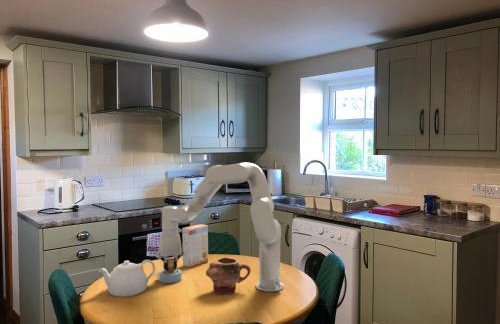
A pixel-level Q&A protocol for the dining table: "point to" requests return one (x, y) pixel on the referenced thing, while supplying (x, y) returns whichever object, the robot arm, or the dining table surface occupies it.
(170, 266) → the lid
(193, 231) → the cracker box
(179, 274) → the blue faceted bowl
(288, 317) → the dining table surface
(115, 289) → the teapot
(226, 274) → the sculpted mug
